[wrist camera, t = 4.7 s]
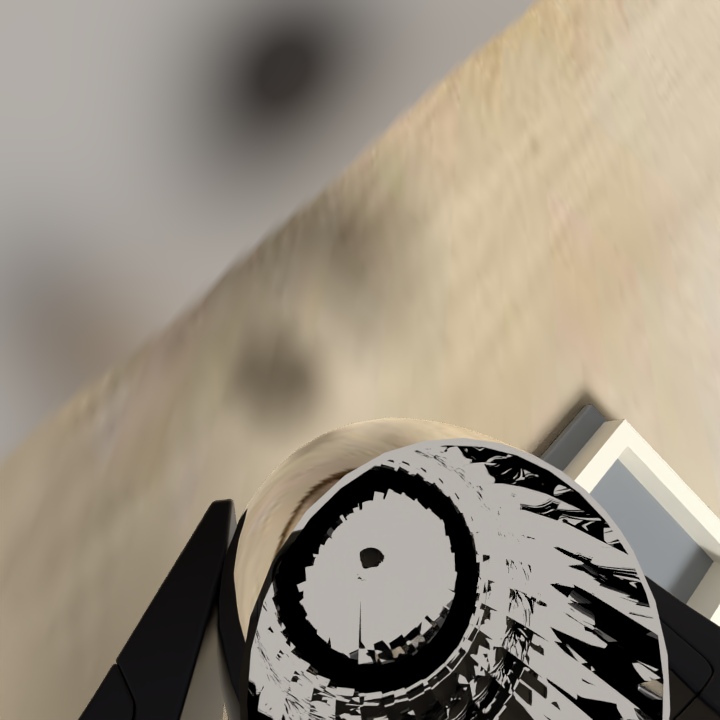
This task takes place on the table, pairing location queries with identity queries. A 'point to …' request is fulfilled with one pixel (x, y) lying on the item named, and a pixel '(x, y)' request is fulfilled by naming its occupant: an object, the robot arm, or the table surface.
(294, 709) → the wineglass
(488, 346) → the table surface
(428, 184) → the table surface
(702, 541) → the square frame board
